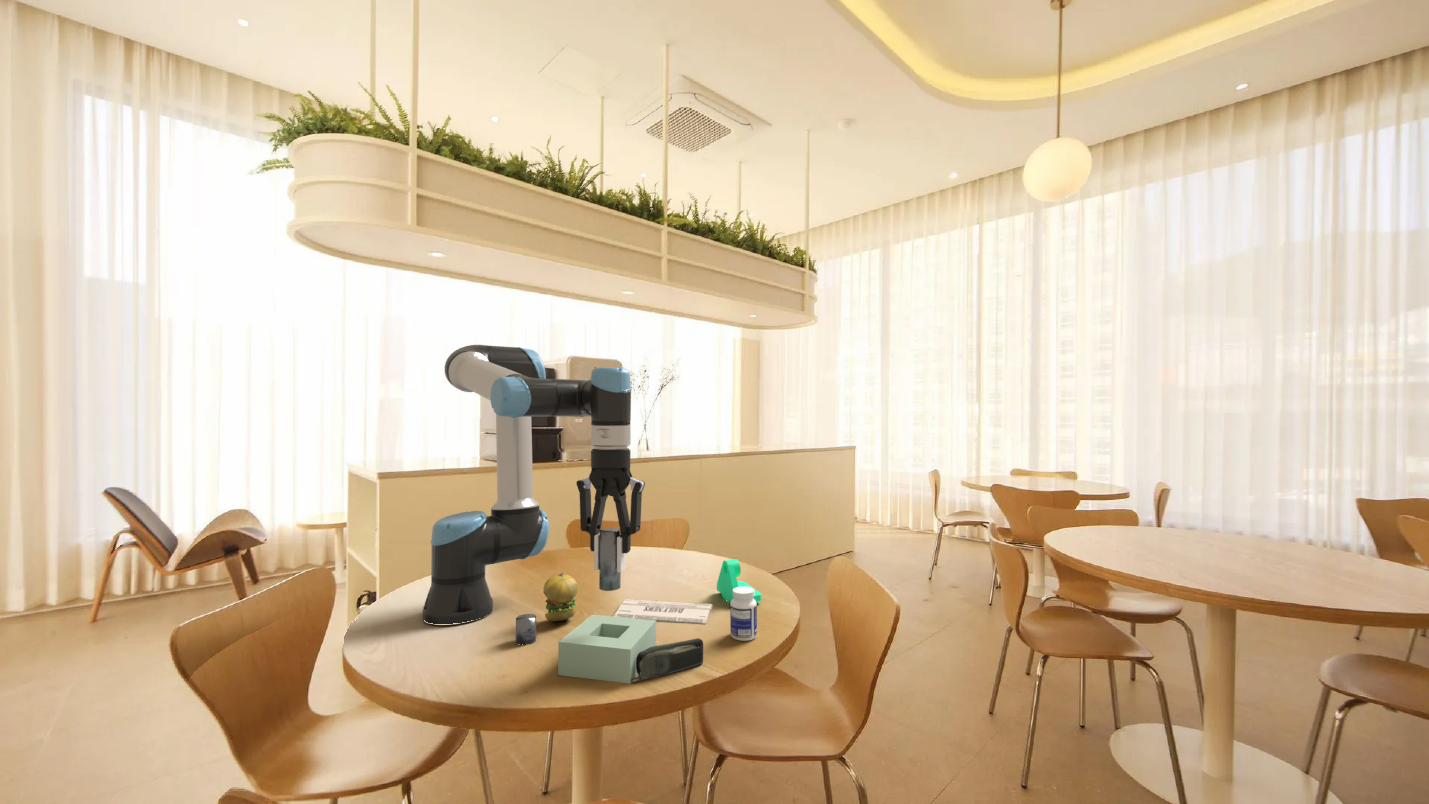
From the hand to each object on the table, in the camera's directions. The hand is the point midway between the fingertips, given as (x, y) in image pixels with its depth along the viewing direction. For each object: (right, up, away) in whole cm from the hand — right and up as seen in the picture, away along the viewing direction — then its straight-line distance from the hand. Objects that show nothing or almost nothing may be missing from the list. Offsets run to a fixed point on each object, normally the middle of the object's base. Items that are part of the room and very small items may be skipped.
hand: (610, 568), depth 106 cm
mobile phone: (+11, -18, -4) cm, 22 cm away
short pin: (-19, -18, +9) cm, 28 cm away
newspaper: (+8, -19, +26) cm, 34 cm away
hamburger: (-15, -18, +20) cm, 31 cm away
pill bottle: (+26, -18, +12) cm, 34 cm away
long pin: (0, -4, 0) cm, 4 cm away
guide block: (0, -18, 0) cm, 18 cm away
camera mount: (+26, -19, +36) cm, 48 cm away
